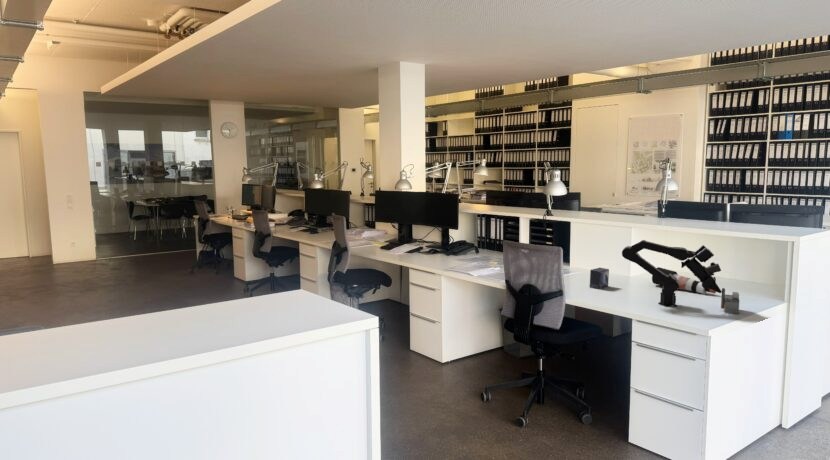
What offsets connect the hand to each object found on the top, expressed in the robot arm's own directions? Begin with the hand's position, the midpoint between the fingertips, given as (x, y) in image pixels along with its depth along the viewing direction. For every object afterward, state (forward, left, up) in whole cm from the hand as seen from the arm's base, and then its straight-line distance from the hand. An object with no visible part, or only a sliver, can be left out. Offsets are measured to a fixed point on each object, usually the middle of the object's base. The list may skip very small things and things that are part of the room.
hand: (721, 292), depth 273 cm
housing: (+4, -3, -9) cm, 10 cm away
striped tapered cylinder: (+11, +40, -9) cm, 43 cm away
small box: (-30, +59, -9) cm, 67 cm away
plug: (+3, -2, -9) cm, 10 cm away
